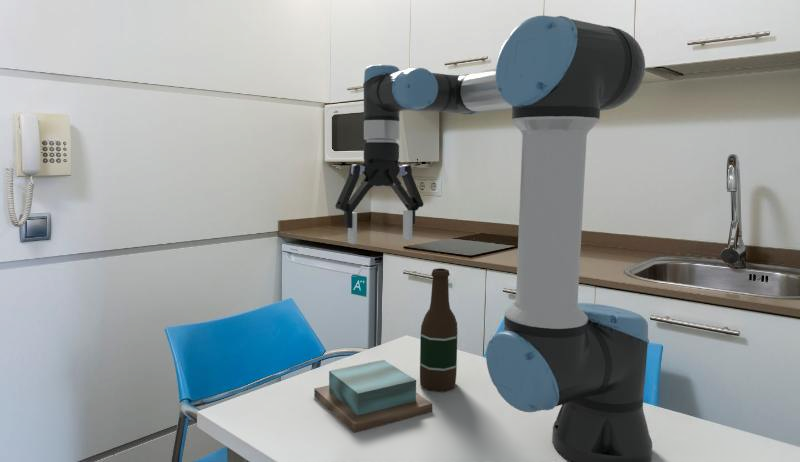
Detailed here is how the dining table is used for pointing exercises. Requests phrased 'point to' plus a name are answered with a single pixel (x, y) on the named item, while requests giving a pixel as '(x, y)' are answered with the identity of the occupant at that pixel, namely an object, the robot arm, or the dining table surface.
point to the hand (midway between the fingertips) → (380, 241)
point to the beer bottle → (439, 338)
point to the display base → (372, 416)
